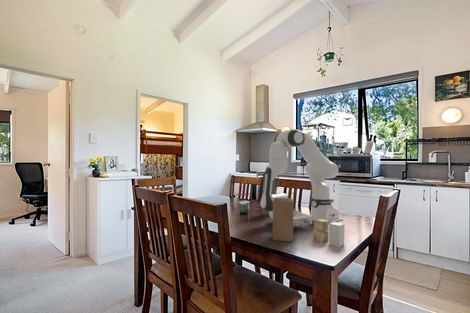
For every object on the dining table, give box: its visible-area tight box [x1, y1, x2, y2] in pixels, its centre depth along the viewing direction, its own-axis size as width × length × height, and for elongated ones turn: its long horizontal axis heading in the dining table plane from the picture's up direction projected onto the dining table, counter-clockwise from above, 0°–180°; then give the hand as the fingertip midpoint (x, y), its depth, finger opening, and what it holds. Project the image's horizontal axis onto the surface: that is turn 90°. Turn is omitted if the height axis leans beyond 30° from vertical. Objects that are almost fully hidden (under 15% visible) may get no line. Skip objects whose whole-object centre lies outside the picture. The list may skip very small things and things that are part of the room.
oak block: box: [313, 219, 329, 243], centre depth 127 cm, size 5×5×10 cm
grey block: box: [328, 221, 345, 248], centre depth 121 cm, size 5×5×10 cm
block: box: [272, 197, 295, 243], centre depth 129 cm, size 10×10×20 cm
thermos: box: [262, 166, 280, 216], centre depth 184 cm, size 9×12×35 cm
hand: (304, 223), depth 137 cm, fingers open, 8 cm apart
